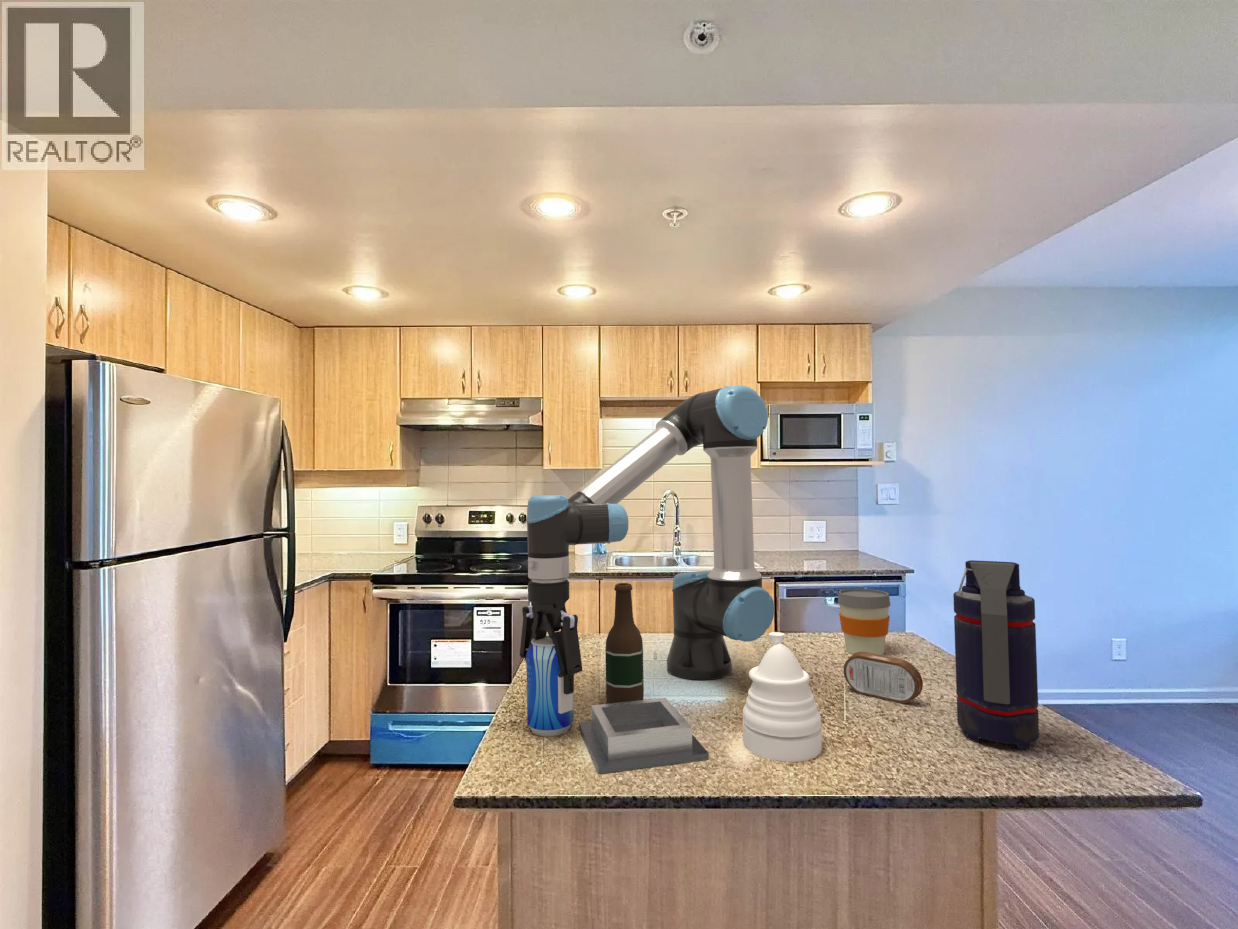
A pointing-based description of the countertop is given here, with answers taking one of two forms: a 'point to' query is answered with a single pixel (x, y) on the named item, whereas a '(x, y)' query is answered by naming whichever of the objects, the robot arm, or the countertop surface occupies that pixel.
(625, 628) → the beer bottle
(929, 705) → the countertop surface
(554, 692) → the beer can
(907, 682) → the tin
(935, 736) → the countertop surface
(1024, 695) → the grenade
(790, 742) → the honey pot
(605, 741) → the silver square tray
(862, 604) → the reusable coffee cup
